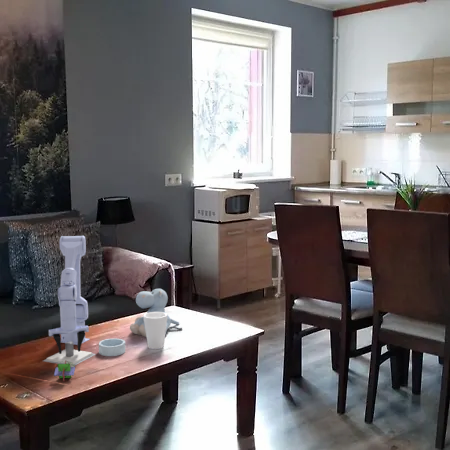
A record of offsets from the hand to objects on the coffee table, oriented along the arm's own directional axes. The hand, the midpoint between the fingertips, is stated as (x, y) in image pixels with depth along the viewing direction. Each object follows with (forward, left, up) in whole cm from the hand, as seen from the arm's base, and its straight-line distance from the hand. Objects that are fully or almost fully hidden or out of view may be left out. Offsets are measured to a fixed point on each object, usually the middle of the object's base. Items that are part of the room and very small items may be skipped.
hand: (69, 351), depth 230 cm
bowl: (+11, +12, -3) cm, 17 cm away
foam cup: (+23, +25, -3) cm, 34 cm away
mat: (0, 0, -3) cm, 3 cm away
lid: (0, 0, -2) cm, 2 cm away
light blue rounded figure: (+12, +44, -3) cm, 46 cm away
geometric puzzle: (+12, -18, -3) cm, 22 cm away
